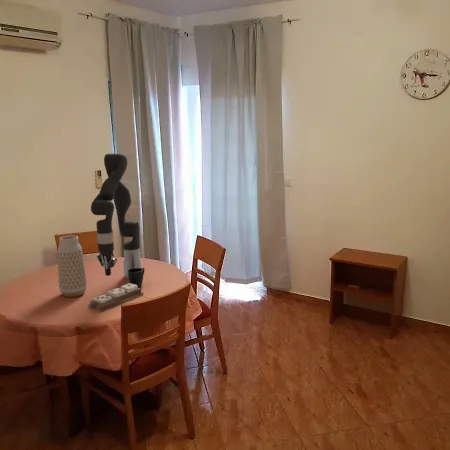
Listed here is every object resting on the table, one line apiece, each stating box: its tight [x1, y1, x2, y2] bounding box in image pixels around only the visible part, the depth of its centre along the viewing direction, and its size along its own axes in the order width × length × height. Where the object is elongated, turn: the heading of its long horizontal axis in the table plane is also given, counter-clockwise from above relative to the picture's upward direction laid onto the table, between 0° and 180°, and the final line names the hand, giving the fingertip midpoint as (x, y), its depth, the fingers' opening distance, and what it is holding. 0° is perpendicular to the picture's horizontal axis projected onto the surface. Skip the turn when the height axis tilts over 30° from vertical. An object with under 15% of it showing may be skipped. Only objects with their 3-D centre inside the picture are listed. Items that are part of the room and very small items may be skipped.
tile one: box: [120, 282, 138, 293], centre depth 219 cm, size 6×6×3 cm
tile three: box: [93, 294, 112, 304], centre depth 206 cm, size 6×6×3 cm
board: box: [88, 287, 144, 312], centre depth 213 cm, size 11×26×3 cm, turn 144°
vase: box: [57, 235, 88, 298], centre depth 219 cm, size 14×14×31 cm
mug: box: [127, 266, 146, 289], centre depth 233 cm, size 8×12×10 cm
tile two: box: [107, 287, 125, 298], centre depth 212 cm, size 6×6×3 cm
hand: (108, 275), depth 208 cm, fingers closed
